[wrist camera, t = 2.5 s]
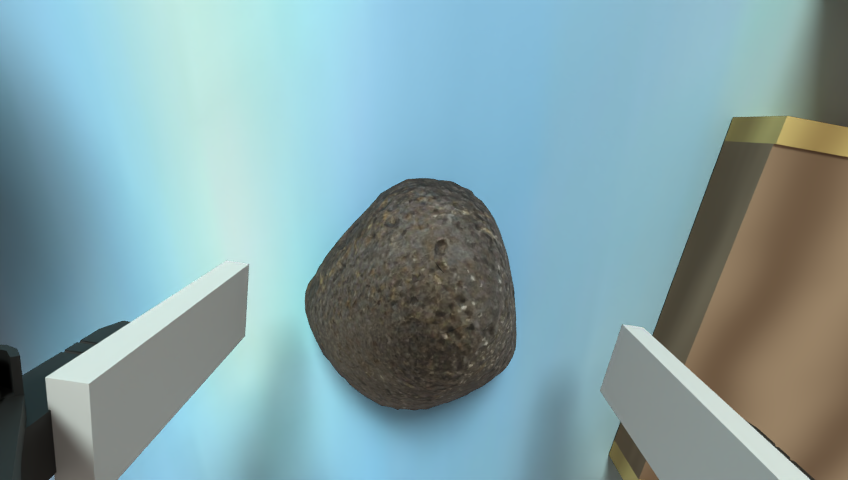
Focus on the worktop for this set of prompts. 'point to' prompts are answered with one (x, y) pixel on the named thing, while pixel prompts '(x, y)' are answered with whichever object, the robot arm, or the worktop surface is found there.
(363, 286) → the stone
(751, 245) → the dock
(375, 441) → the worktop surface
